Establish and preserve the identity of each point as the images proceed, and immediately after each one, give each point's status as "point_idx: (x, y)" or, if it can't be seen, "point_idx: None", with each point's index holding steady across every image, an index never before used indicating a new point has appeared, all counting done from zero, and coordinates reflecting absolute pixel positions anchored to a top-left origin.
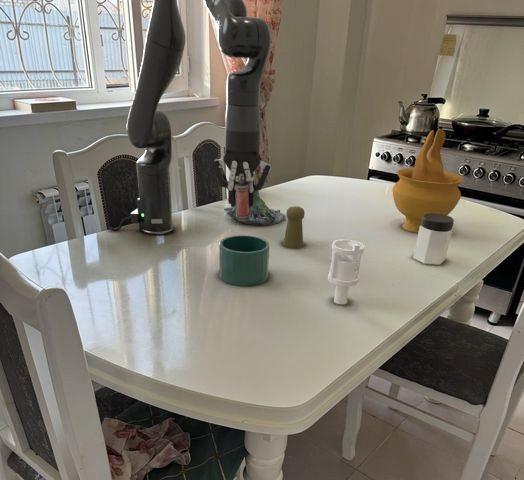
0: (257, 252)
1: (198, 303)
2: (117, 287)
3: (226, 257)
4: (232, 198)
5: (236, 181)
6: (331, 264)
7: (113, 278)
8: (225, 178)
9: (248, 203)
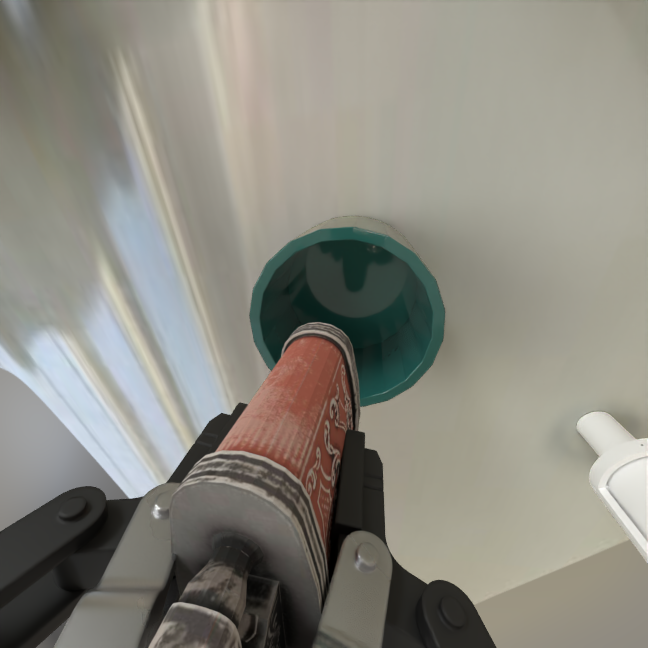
0: (389, 399)
1: None
2: (87, 364)
3: None
4: None
5: (176, 544)
6: (625, 529)
7: (54, 322)
8: (43, 567)
9: None
